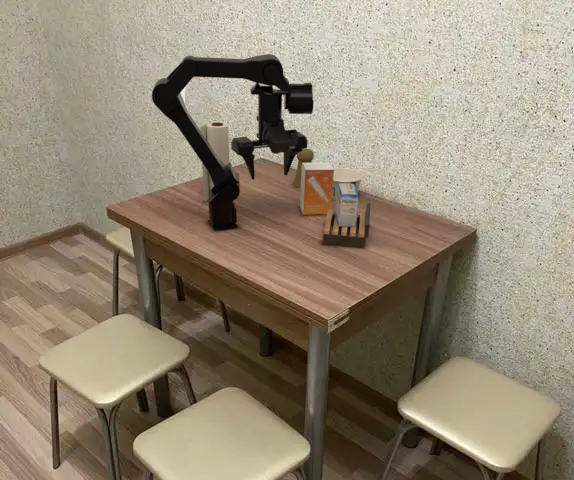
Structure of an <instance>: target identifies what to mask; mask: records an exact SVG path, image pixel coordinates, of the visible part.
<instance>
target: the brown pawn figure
mask: <svg viewBox="0 0 574 480" xmlns="http://www.w3.org/2000/svg"><path fill="white" fill-rule="evenodd" d="M314 155H315V154H314V151H313V150H312V149H310V148H305V149H303V150H302V152H299V153H298V154H297V155H296V159H297V160H298V161H297V168H296V173H295V177H294V187H296V188H299V189H301V171H302V163H312V162H313V160H314Z"/></svg>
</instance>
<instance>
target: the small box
mask: <svg viewBox="0 0 574 480" xmlns="http://www.w3.org/2000/svg"><path fill="white" fill-rule="evenodd" d="M333 168H334V167H333V165H332V163H331V162H330V161H326V162H323V161H322V162H321V161H312V163H302V171H301V188H300V193H299V194H300V195H299V208H300V210H301V213H302V215H303V216H307V215H327V213H328V209H331V210H332V200H333V199H332V188H333V177H334V169H333Z"/></svg>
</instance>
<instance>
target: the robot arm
mask: <svg viewBox="0 0 574 480" xmlns="http://www.w3.org/2000/svg"><path fill="white" fill-rule="evenodd" d="M284 72H285V71H284V68H283V64H282V62H281V60H280V59H279V58H278V56H276V55H275V54H272V53H267V54H261V55H260V54H259V55H254V56H251V57H246V58H228V57H227V58H226V57H205V56H202V57H201V56H193V55H186V56H184V57H183V59H182V61H181V62H180V63H179V64H178V65H177V66H176V67H175V68H174V69H173V70H172V71H171V72H170V73H169V75H168V76H167V77H162V78H159V79H158V80H157V81H156V82H155V84H154V87H153V88H152V92H151V100H152V102H153V104H154V105H155V106H156V108H157V109H158V110H159V111H160V112H161V113H162V114H163V115H164V116H165V117H166V118H167V119H168V120H170V121H171V122H172V123H174V125H176V127H177V128H178V130H179V131H180V133H181V134H182V136H183V137H184V139H185V140H186V141H187V142H188V144H189V146H190V147H191V149H192V150H193V152H194V153H195V154H196V156H197V157H198V160H200V162H201V164H202V163H203V164H204V166H205V167H206V169H207V170H208V172H209V174H210V176H211V179H212V182H213V184H214V187H213V188H212V189H211V190H210V198H209V201H208V216H209V217H208V218H209V219H207V224H208V225H209V226H210V227H211V228H212V229H213V230H214V231H215V232H216V231H222V230H229V229H237V228H238V224H237V222H238V213H237V210H238V209H237V207H236V206H235V205H236V204H235V202H234V201H235V200H237V199H238V198H239V196H240V193H241V188H240V187H241V186H240V175H239V173H238V172H237V171H236V170H235V168H234V166H233V165H232V163H231V162H230V161H229V163H228V164H227V165H225V164H224V163H223V162H222V161H221V160H220V159H219V158H218V156H217V155H216V153H215V152H214V150H213V149H212V147H211V146H210V144H209V143H208V141H207V140H206V138H205V137H204V135H203V134H202V132H201V131H200V127H199V126H198V125H197V123H196V121H195V120H194V119H193V117H192V116H191V114H190V113H189V111H188V108H187V106H186V103H185V100H184V98H183V96H182V94H181V92H183V90H184V89H185V88H186V87H187V85H188V84H189V83H190V82H191V81H192V80H193V78H216V79H217V78H218V79H243V80H247V81H251V82H253V83H255V84H254V85H253V86H252V87H251V88H250V94H251V96H257V103H258V104H257V111H258V113H257V115H256V121H257V125H258V126H257V129H258V131H257V133H256V138H257V139H254V140H251V139H250V138H249V137H247V136H241V137H240V136H239V137H233V138H232V140H231V142H230V149H231V151H233V152H234V153H235V154H236V155H238V156H240V157H241V158H242V159H243V161H244V163H245V165H246V168H247V170H248V173H249V177H250V178H251V180H253V181H254V180H255V177H256V174H255V172H256V171H255V157H256V155H255V154H254V152H255V150H257V149H265V148H269V149H270V152H271V153H272V154H274V155H279V154H281V153H283V175H284V176H288V175H289V172H290V169H291V167H292V164H293V162H294V159H295V158H296V157H297V154H298V153H299V152H302V150H303V149H308V142H309V141H308V138H307V137H306V135H304V134H303V133H301V132H300V131H298V130H297V129H296V128H295V129H286V128H285V120H284V119H283V118H282V117H283V115H282V114H283V109H284V110H287V112H288V115H312V114H313V112H314V102H315V101H314V93H313V84H312V82H304V83H290V81H289V79H288V78H287V77H286V76H285V74H284ZM274 87H276V88H277V89H276V88H274Z"/></svg>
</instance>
